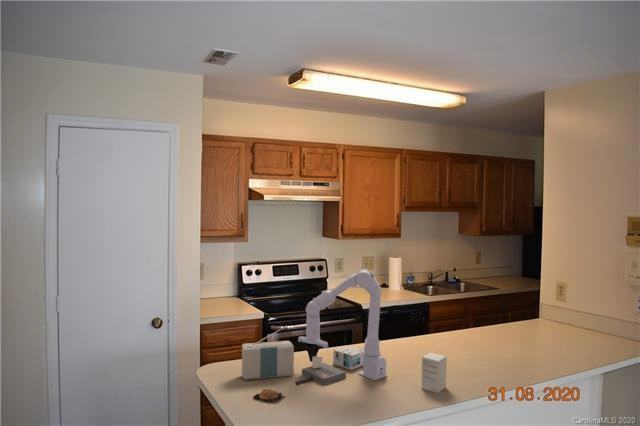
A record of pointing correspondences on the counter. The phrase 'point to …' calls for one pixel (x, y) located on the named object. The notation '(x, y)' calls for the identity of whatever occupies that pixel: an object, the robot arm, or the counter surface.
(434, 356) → the supplement box
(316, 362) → the breaker toggle
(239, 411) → the counter surface
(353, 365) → the light bulb box
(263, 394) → the bread roll
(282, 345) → the stereo radio cassette player
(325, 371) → the box
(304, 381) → the power cord
